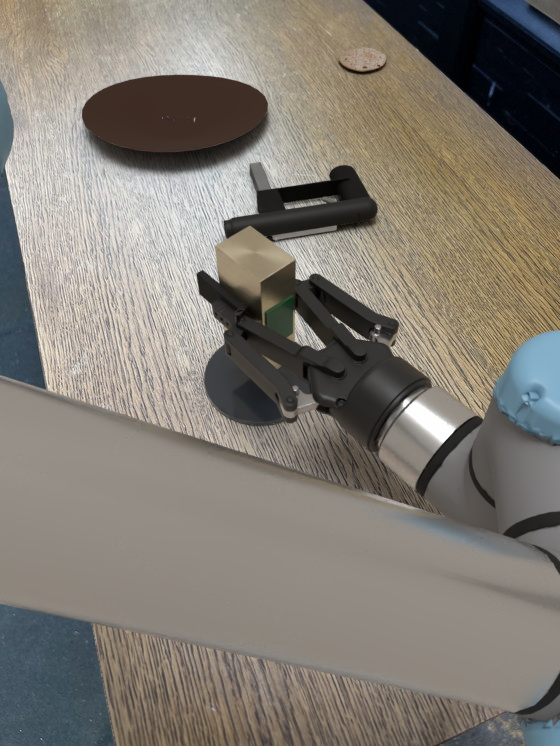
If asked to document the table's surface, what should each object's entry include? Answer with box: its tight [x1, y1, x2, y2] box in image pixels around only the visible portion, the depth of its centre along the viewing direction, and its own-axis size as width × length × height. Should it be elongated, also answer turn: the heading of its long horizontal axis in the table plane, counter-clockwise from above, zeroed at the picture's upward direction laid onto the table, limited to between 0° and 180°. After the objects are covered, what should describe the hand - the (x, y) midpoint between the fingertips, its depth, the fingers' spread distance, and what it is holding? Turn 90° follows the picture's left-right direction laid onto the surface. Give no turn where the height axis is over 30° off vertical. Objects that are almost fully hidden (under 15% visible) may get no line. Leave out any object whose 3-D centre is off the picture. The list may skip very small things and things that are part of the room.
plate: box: [81, 74, 269, 153], centre depth 99 cm, size 28×28×4 cm
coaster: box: [203, 341, 310, 427], centre depth 69 cm, size 12×12×1 cm
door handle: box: [222, 161, 379, 242], centre depth 86 cm, size 3×20×16 cm
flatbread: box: [338, 46, 388, 73], centre depth 110 cm, size 8×8×1 cm
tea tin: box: [214, 226, 297, 369], centre depth 60 cm, size 6×4×13 cm, turn 42°
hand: (220, 270), depth 62 cm, fingers closed on tea tin, 4 cm apart
